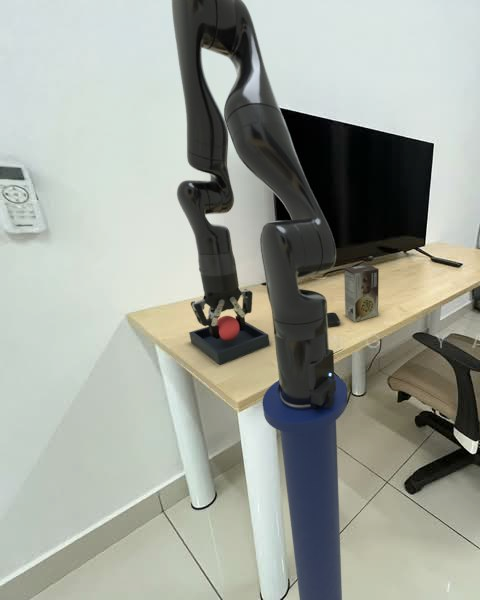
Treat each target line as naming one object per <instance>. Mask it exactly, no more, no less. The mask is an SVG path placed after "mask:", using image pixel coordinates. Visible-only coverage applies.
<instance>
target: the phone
mask: <svg viewBox="0 0 480 600" xmlns="http://www.w3.org/2000/svg"><path fill="white" fill-rule="evenodd" d="M327 320H328V328H329V327H331V328H332V327H337V326H340V325H341V319H340V318H339V316H338V314H337V312H327Z"/></svg>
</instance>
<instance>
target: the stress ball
mask: <svg viewBox="0 0 480 600" xmlns="http://www.w3.org/2000/svg"><path fill="white" fill-rule="evenodd" d="M235 318H236V317H233V316H231V315H224V316H220V317H219V318H218V321H217V324H216V325H218V330H219V334H220V337H221V338H222V339H223V340H225V341H231V340H233V339H234V338H235V337H236V336H237V335H238V333H239V330H240V326H239V323H238V321H237V320H236V319H235Z"/></svg>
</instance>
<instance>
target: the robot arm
mask: <svg viewBox="0 0 480 600" xmlns="http://www.w3.org/2000/svg"><path fill="white" fill-rule="evenodd" d="M171 10H172V11H171V12H172V23H173V31H174V38H175V43H176V51H177V61H178V67H179V72H180V80H181V86H182V93H183V100H184V108H185V118H186V119H185V120H186V159H187V160H186V161H187V163H188V165H189V166H190V167H191V168H192V169H194V170H196V171H199V172H201V173H205V174H209V177H210V179H209V180H200V179H199V180H196V179H195V180H194V179H186V180H183V181H181V182H180V183H179V185H178V186H177V189H176V198H177V201H178V204H179V206H180V209H181V210H182V212H183V214H184V216H185V217H186V219H187V222H188V224H189V226H190V228H191V230H192V232H193V233H192V234H193V235H194V238H195V246H196V251H197V261H198V271H199V273H200V278H201V284H202V289H203V290H202V291H203V298H202V299H200V300H198V301H195V300H192V301H191V302H190V307H191V309H192V312H193V313H194V315H195V317H196V320H197V322H198V323H199V324H200V325H202V326H203V327H209V331H210V335H211V336H212V337H214V338H215V339H219V338H220V336H219V330H218V325H216V324H217V321H218V319H219V318H221V314H222V312H223V313H224V312H226V311H228V310H232V311H233V312H234V313H235V314H236V315H235V318H236V320H237V321H238V323H239V326H240V331H243V330H244V328H245V326H246V325H245V322H246V318H245V317H246V315H248V314H251V313H252V309H253V291H251V290H249V289H247V288H245V289H243V290H240V288H239V287H240V284H239V277H238V271H237V264H236V259H235V255H234V252H233V246H232V245H233V244H232V238H231V232H230V230H229V228H228V227H227V226H226V225H222V224H215V223H211V222H210V221H209V220H208V218H207V217H206V215H221V214H223V215H224V214H227V213H229V212H230V211H231V210H232V208H233V206H234V203H235V195H234V191H233V187H232V183H231V179H230V173H229V169H228V152H229V136H230V139H231V142H232V145H233V148H234V150H235V153H236V154H237V156H238V158H239V160H240V161H241V162H242V163H243V164H244V166H245V167H246V168H247V169H248V171H250V172H251V173H252V174H253V175H254V176H255V177H256V178H257V179H258V180H259V181H260V182H262V184H263V185H265V186H266V187H267V188H268V189H269V190H270V191H272V193H273V194H274V195H275V196H276V197H277V198H278V199H279V200H280V202H282V204H283V205H284V208H285V209H286V211H287V212H288V214H289V216H290V218H291V219H290V220H289V219H285V220H283V219H282V220H272V221H268V222H266V223H265V224H264V225H263V226H262V228H261V231H260V235H259V246H260V247H259V249H260V254H261V261H262V266H263V271H264V278H265V284H266V291H267V298H268V301H269V305H270V309H271V317H272V325H273V326H272V327H273V335H274V344H275V346H274V347H275V355H276V365H277V371H278V380H279V382H280V384H279V387H278V394H279V392H280V391H281V392H280V396H281V401H282V403H283V404H284V405H285V406H286V407H288V408H291V409H294V410H307V409H313V410H317V409H318V408H319V407H320V406H321V405H322V404H323V403H324V402H325V401H326V400H327V399H329V401H328V402H326V403H325V404H324V407H325V408H328V407H330V406H331V405H332V404H333V403H334V396H333V393H334V392H335V391H336V380H334V375H335V357H334V356H335V355H334V350H333V349H330V348H329V327H328V320H327V313H328V301H327V298H326V297H325V296H324V295H323V294H322V293H320V292H317V291H314V290H309V289H302V288H299V284H298V279H299V278H304V277H309V276H314V275H318V274H323V273H326V272H329V271H331V270H332V269H333V268H334V266H335V264H336V260H337V249H336V243H335V239H334V236H333V233H332V230H331V228H330V225H329V223H328V221H327V219H326V217H325V215H324V213H323V211H322V209H321V207H320V204H319V203H318V201H317V198H316V197H315V194H314V193H313V190H312V188H311V187H310V184H309V182H308V179H307V177H306V175H305V172H304V170H303V167H302V165H301V162H300V159H299V157H298V154H297V152H296V149H295V146H294V143H293V140H292V137H291V134H290V131H289V128H288V126H287V123H286V119H284V115H283V113H282V111H281V108H280V106H279V104H278V101H277V99H276V95H275V92H274V90H273V87H272V84H271V81H270V78H269V75H268V72H267V69H266V66H265V63H264V62H265V61H264V59H263V56H262V51H261V47H260V44H259V40H258V36H257V32H256V28H255V25H254V22H253V19H252V16H251V13H250V11H249V9H248V7H247V5H246V4H245V2H244V1H243V0H171ZM202 49H204V50H207V51H209V52H213V53H216V54H218V55H220V56H224V57H226V58H227V59H229V60H230V61H231V63H232V65H233V66H234V69H235V72H236V77H235V81H234V83H233V85H232V86H231V89H230V90H229V92H228V95H227V97H226V100H225V103H224V109H223V113H222V111H221V109H220V107H219V105H218V102H217V101H216V99H215V97H214V95H213V93H212V90H211V88H210V86H209V83H208V81H207V77H206V73H205V70H204V65H203V53H202ZM240 298H242V307H241V304H239V300H240ZM206 305H207V306H209V308H208V312H207V313H208V314H207V315H208V316H206V314H205V312H204V310H205V306H206Z"/></svg>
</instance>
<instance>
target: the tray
mask: <svg viewBox="0 0 480 600" xmlns="http://www.w3.org/2000/svg"><path fill="white" fill-rule="evenodd" d="M234 318H235V319H236V317H234ZM245 325H246V326H245V328H244V330H243V331H240V330H239V333H238V335H237V336H236V337H235V338H234V339H233V340H231V341H225V340H223V339H222V338H221V337H220V338H219V339H215V338H214V337H212V336H211V335H210V331H209V326H204V327H201V328H199V329H196V330H192V331H189V332H188V334H189V338H190V343H191V344H192V345H194V347H196V348H197V349H199V350H200V351H201V352H202V353H204V354H205V355H206V356H208V357H209V358H210V359H211V360H212V361H214V362H215V363H217V364H218V365H219V366H221V365H224V364H226V363H228V362H231V361H233V360H236V359H238V358H241V357H244V356H246V355H249V354H251V353H253V352H256V351H259V350H261V349H263V348H267V347H268V346H269V347H270V346H271V344H270V335H269V334H268V333H267V332H266V331H263V330H261V329H259V328H258V327H256V326H254V325H252V324H250V323H248V322H247V321H245ZM219 336H220V334H219Z"/></svg>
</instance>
